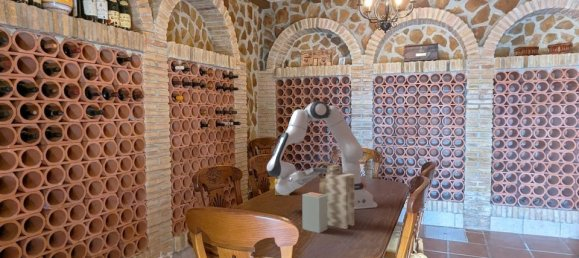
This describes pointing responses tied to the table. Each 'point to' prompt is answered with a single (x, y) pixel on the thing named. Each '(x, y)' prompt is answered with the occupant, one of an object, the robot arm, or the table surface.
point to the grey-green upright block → (314, 212)
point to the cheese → (275, 189)
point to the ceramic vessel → (323, 180)
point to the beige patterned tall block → (339, 197)
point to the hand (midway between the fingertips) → (316, 168)
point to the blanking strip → (320, 170)
